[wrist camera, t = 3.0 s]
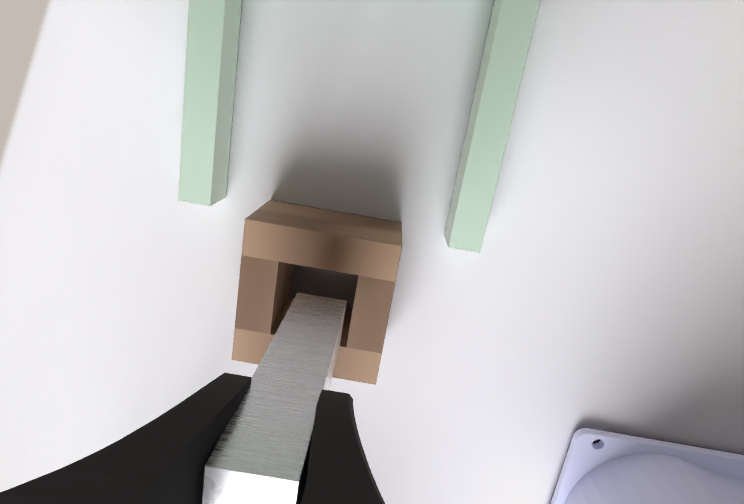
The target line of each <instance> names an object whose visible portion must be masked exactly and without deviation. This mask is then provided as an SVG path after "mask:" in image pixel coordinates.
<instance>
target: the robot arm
mask: <svg viewBox="0 0 744 504" xmlns="http://www.w3.org/2000/svg"><path fill="white" fill-rule="evenodd" d="M251 379H252V377H247V376H241V375H235V374H229V373H224V374H222V375H221V376H219V377H218V378H216V379H215V380H213V381H212V382H210V383H209V384H207V385H206V386H204V387H203V388H201V389H200V390H199V391H197V392H196V393H194V394H193V395H191V396H190V397H188V398H187V399H185V400H184V401H182V402H181V403H179V404H178V405H176V406H175V407H173V408H172V409H170V410H169V411H167V412H166V413H164V414H162V415H161V416H159V417H158V418H156V419H155V420H153V421H151V422H149V423H148V424H146V425H144V426H143V427H141V428H139V429H137V430H136V431H134V432H132V433H131V434H129V435H127V436H126V437H124V438H122V439H120V440H118V441H117V442H115V443H113V444H111V445H109V446H107V447H105V448H103V449H101V450H99V451H97V452H95V453H93V454H91V455H89V456H87V457H85V458H83V459H81V460H78V461H76V462H74V463H72V464H70V465H68V466H65V467H63V468H61V469H59V470H56V471H54V472H51V473H49V474H46V475H44V476H41V477H39V478H36V479H34V480H31V481H29V482H26V483H24V484H21V485H19V486H16V487H14V488H11V489H9V490H6V491H3V492H1V493H0V504H202V501H203V486H204V472H205V465H206V463H207V461H208V459H209V458H210V456H211V454H212V452H213V450H214V448H215V446H216V444H217V443H218V441H219V439H220V437H221V435H222V433H223V431H224V429H225V428H226V426H227V424H228V423H229V421H230V420H231V418H232V417H233V415H234V414H235V412H236V411H237V409H238V407H239V405H240V403H241V402H242V400H243V398H244V396H245V394H246V392H247V390H248V388H249V386H250V384H251ZM597 439H600V441H599V442H598V443H596V444H593V442H594V441H595V440H597ZM301 504H385V502H384V500H383V498H382V496H381V494H380V492H379V490H378V487H377V485H376V482H375V480H374V478H373V475H372V473H371V470H370V468H369V465H368V462H367V459H366V456H365V453H364V450H363V447H362V444H361V441H360V438H359V434H358V430H357V426H356V422H355V417H354V410H353V399H352V397H351V396H350V394H347V393H341V392H335V391H329V390H323V389H322V391H321V393H320V396H319V399H318V402H317V405H316V411H315V418H314V425H313V432H312V439H311V446H310V453H309V459H308V466H307V473H306V480H305V486H304V493H303V497H302V501H301ZM551 504H744V455H740V454H734V453H729V452H723V451H717V450H711V449H705V448H700V447H694V446H688V445H682V444H677V443H671V442H665V441H659V440H653V439H648V438H642V437H636V436H630V435H625V434H619V433H613V432H607V431H601V430H596V429H590V428H582V429H579V430H577V431H576V432H575V433H574V435H573V438H572V441H571V444H570V447H569V450H568V453H567V456H566V459H565V462H564V465H563V468H562V471H561V474H560V477H559V480H558V483H557V486H556V489H555V492H554V495H553V498H552V501H551Z"/></svg>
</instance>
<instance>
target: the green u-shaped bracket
mask: <svg viewBox="0 0 744 504" xmlns="http://www.w3.org/2000/svg"><path fill="white" fill-rule="evenodd" d="M539 4H540V0H495V1H494V5H493V10H492V14H491V19H490V24H489V28H488V33H487V38H486V42H485V47H484V52H483V56H482V61H481V66H480V70H479V75H478V80H477V84H476V89H475V94H474V98H473V103H472V108H471V112H470V117H469V122H468V126H467V131H466V136H465V140H464V145H463V150H462V154H461V159H460V164H459V168H458V173H457V177H456V182H455V187H454V191H453V196H452V201H451V205H450V210H449V215H448V219H447V224H446V229H445V233H444V236H445V239H446V242H447V245H448V247H450V248H456V249H461V250H467V251H473V252H479V253H480V251H481V247H482V243H483V239H484V235H485V230H486V226H487V222H488V218H489V214H490V210H491V205H492V201H493V197H494V193H495V189H496V184H497V180H498V176H499V172H500V168H501V163H502V159H503V155H504V151H505V147H506V143H507V138H508V134H509V130H510V126H511V122H512V117H513V113H514V109H515V105H516V101H517V96H518V92H519V88H520V84H521V80H522V76H523V71H524V67H525V63H526V59H527V55H528V50H529V46H530V42H531V38H532V34H533V29H534V25H535V21H536V17H537V13H538V9H539ZM241 7H242V0H189V13H188V32H187V50H186V69H185V87H184V105H183V124H182V142H181V161H180V179H179V197H178V201H184V202H190V203H196V204H201V205H207V206H211V205H213V204H215V203H216V202H218V201H220V200H222V199H224V198H226V190H227V178H228V166H229V154H230V141H231V129H232V117H233V105H234V93H235V80H236V68H237V56H238V44H239V32H240V20H241Z"/></svg>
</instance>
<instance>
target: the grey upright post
mask: <svg viewBox="0 0 744 504" xmlns="http://www.w3.org/2000/svg"><path fill="white" fill-rule="evenodd" d="M346 302H347V301H346V300H339V299H333V298H327V297H321V296H315V295H309V294H303V293H297V294H296V296H295V298H294V300H293V302H292V303H291V305H290V307H289V309H288V311H287V313H286V315H285V317H284V319H283V320H282V322H281V324H280V326H279V328H278V330H277V332H276V334H275V335H274V337H273V339H272V341H271V343H270V345H269V347H268V349H267V350H266V352H265V354H264V356H263V358H262V360H261V362H260V364H259V366H258V367H257V369H256V371H255V373H254V375H253V377H252V379H251V384H250V386H249V388H248V390H247V392H246V394H245V396H244V398H243V400H242V402H241V403H240V405H239V407H238V409H237V411H236V412H235V414H234V415H233V417H232V418H231V420H230V421H229V423H228V424H227V426H226V428H225V429H224V431H223V433H222V435H221V437H220V439H219V441H218V443H217V444H216V446H215V448H214V450H213V452H212V454H211V456H210V458H209V459H208V461H207V463H206V465H205V472H204V486H203V501H202V504H301V501H302V497H303V493H304V486H305V480H306V473H307V466H308V459H309V453H310V446H311V439H312V432H313V425H314V418H315V411H316V405H317V402H318V399H319V396H320V393H321V391H322V389H323V390H329V388H330V384H331V380H332V375H333V371H334V367H335V363H336V359H337V355H338V351H339V347H340V341H341V335H342V328H343V321H344V315H345V308H346Z"/></svg>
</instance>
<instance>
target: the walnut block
mask: <svg viewBox="0 0 744 504" xmlns="http://www.w3.org/2000/svg"><path fill="white" fill-rule="evenodd" d="M401 250H402V227H401V223H400V222H394V221H388V220H382V219H377V218H371V217H365V216H359V215H354V214H348V213H342V212H336V211H330V210H325V209H319V208H313V207H307V206H302V205H296V204H290V203H284V202H278V201H273V200H270V201H268V202H267V203H266V204H264V205H263V206H262V207H260V208H259V209H258V210H256V211H255V212H254V213H252V214H251V215H250V216H249V217H247V218H246V219H245V225H244V236H243V246H242V257H241V268H240V278H239V289H238V299H237V310H236V320H235V331H234V341H233V352H232V360H236V361H242V362H248V363H254V364H260V362H261V360H262V358H263V356H264V354H265V352H266V350H267V349H268V347H269V345H270V343H271V341H272V339H273V337H274V335H275V334H276V332H277V330H278V328H279V326H280V324H281V322H282V320H283V319H284V317H285V315H286V313H287V311H288V309H289V307H290V305H291V303H292V302H293V300H294V299H291V298H290V294H291V286H292V278H293V270H294V264H295V265H301V266H307V267H312V268H318V269H324V270H330V271H336V272H341V273H347V274H353V275H358V281H357V286H356V292H355V298H354V304H353V309H349V308H345V315H344V321H343V328H342V335H341V341H340V347H339V351H338V355H337V359H336V363H335V367H334V371H333V375H332V377H335V378H340V379H346V380H352V381H358V382H363V383H369V384H375V385H376V381H377V375H378V370H379V365H380V360H381V354H382V349H383V344H384V339H385V333H386V328H387V323H388V318H389V312H390V307H391V302H392V297H393V291H394V286H395V281H396V276H397V271H398V265H399V260H400V255H401Z"/></svg>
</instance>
